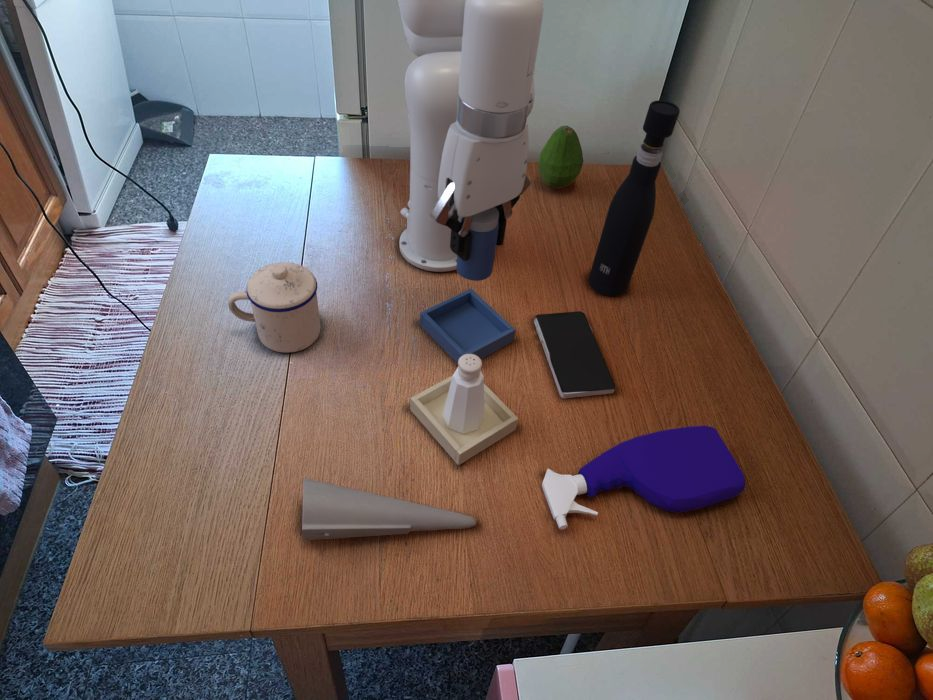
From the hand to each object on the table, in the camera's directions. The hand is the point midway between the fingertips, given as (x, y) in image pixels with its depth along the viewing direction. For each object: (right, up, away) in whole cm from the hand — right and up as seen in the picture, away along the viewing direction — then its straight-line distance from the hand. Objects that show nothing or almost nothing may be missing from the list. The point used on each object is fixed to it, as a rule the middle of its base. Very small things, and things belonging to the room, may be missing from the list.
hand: (476, 246), depth 82 cm
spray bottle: (+20, -30, -3) cm, 36 cm away
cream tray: (-2, -22, +1) cm, 22 cm away
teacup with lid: (-28, -11, +9) cm, 31 cm away
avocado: (+16, +18, +40) cm, 47 cm away
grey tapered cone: (-10, -32, -8) cm, 35 cm away
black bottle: (+22, -3, +22) cm, 31 cm away
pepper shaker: (0, -3, +3) cm, 4 cm away
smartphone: (+14, -14, +11) cm, 23 cm away
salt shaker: (-2, -22, +1) cm, 22 cm away
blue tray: (-1, -11, +12) cm, 16 cm away
